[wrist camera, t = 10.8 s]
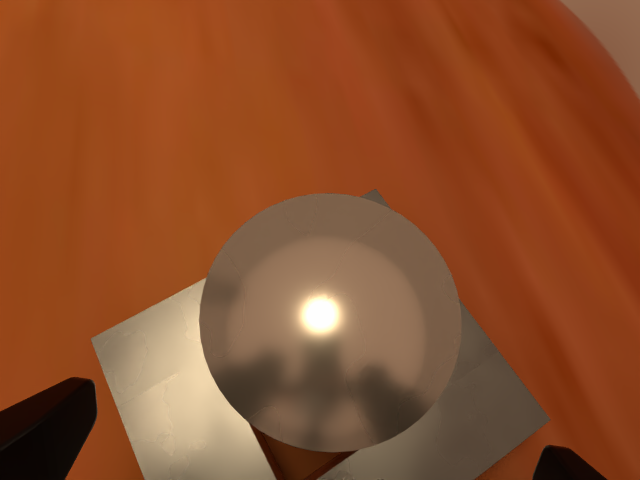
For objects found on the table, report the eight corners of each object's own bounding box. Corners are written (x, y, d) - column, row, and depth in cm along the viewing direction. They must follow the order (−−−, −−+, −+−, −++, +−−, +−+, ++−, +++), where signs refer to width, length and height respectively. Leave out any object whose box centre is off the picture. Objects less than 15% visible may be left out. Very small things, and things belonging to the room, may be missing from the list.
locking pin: (364, 427, 18) (495, 429, 6) (274, 440, 18) (200, 473, 5) (350, 337, 20) (426, 182, 7) (267, 348, 20) (197, 205, 7)
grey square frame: (514, 420, 19) (550, 419, 16) (236, 633, 15) (220, 677, 13) (367, 217, 23) (375, 188, 20) (120, 351, 19) (90, 338, 17)
